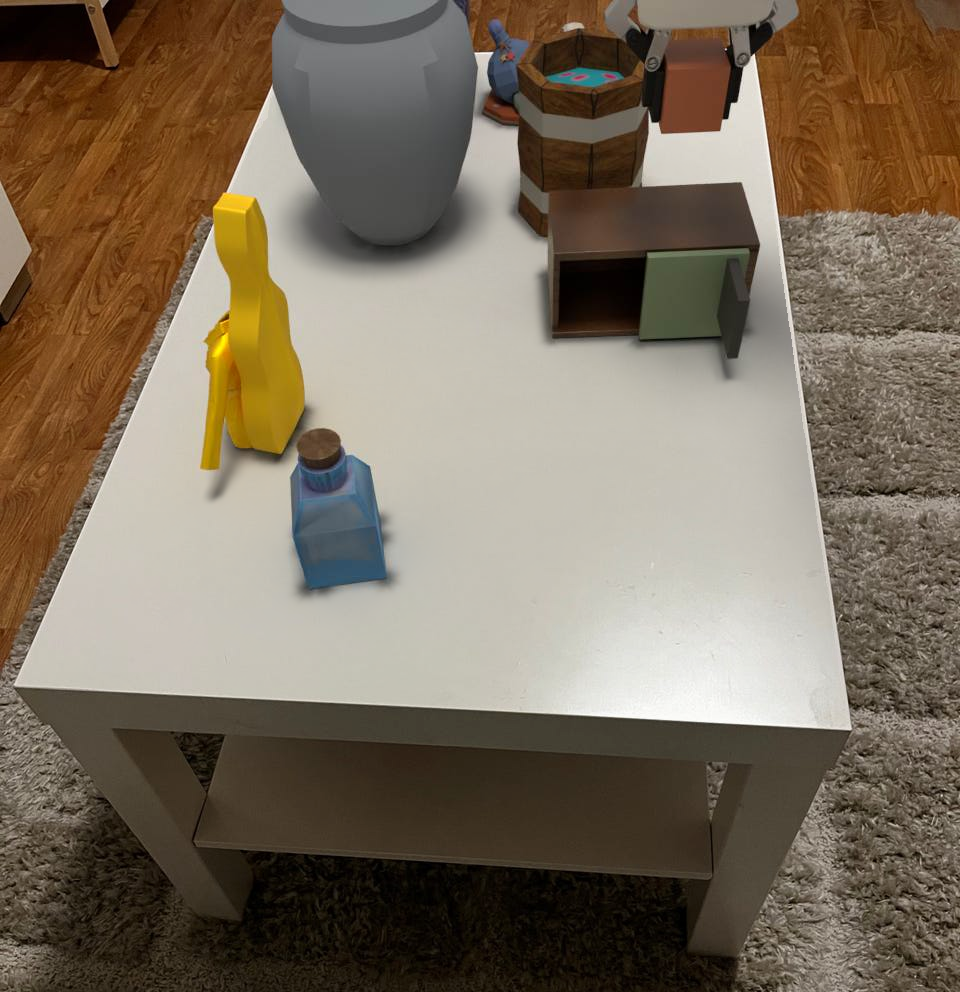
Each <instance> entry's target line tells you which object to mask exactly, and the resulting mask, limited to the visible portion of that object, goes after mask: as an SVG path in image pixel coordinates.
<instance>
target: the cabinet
mask: <svg viewBox="0 0 960 992" xmlns="http://www.w3.org/2000/svg"><path fill="white" fill-rule="evenodd" d="M741 248H748V249H749V252H750V255H749V260H748V265H747V270H746V275H745V283H746V287H747V290H748V294H749V297H750V295H751V291H752V286H753V281H754V276H755V271H756V267H757V262H758V257H759V253H760V248H761V242H760V238H759V235H758V232H757V229H756V225H755V222H754V219H753V216H752V212H751V208H750V205H749V202H748V199H747V195H746V191H745V189H744V186H743V182H742V181H738V182H737V181H736V182H734V181H733V182H715V183H713V182H712V183H692V184H690V183H689V184H670V185H669V184H668V185H649V186H642V187H625V188H604V189H582V190H561V191H549V192H548V237H547V259H546V260H547V261H546V262H547V263H546V264H547V268H546V269H547V271H546V278H547V288H548V290H547V291H548V301H549V303H548V304H549V315H550V325H551V337H552V339H561V338H562V339H566V338H567V339H568V338H585V337H586V338H588V337H612V336H635V335H637V336H639V325H640V316H641V306H642V297H643V288H644V279H645V269H646V260H647V253H651V252H674V251H696V250H719V249H741Z"/></svg>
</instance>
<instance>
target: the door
mask: <svg viewBox="0 0 960 992" xmlns="http://www.w3.org/2000/svg"><path fill="white" fill-rule="evenodd" d="M749 255H750V252H749V249H748V248H741V249H719V250H696V251H674V252H651V253H647V260H646V269H645V279H644V288H643V297H642V306H641V316H640V325H639V335H638V340H659V339H661V340H662V339H681V338H684V339H685V338H704V337H707V338H708V337H721V341H722V345H723V348H724V352H725V357H726V359H727V360H730V359H732V360H733V359H739V356H740V355H739V354H740V350H741V346H742V340H743V336H744V332H745V327H746V324H747V323H746V322H747V318H748V313H749V309H750V305H751V299H750V296H749V294H748V290H747V287H746V283H745V275H746V270H747V265H748V260H749Z"/></svg>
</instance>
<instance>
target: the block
mask: <svg viewBox="0 0 960 992" xmlns="http://www.w3.org/2000/svg"><path fill="white" fill-rule="evenodd" d="M663 65H664V69H665V83H664V92H663V102H662V111H661V120H660V121H658V123H657V124H658V127H659V131H660V134H661V135H670V134H672V135H674V134H693V133H694V134H695V133H714V132H716V133H717V132H721V130H722V124H723V120H722V119H723V112H724V106H725V100H726V94H727V88H728V81H729V75H730V69H731V66H730V63H729V60H728V57H727V53H726V48H725V45H724V41H723V38H722V37H706V38H687V39H669V42H668V45H667V47H666V50H665V53H664V56H663Z"/></svg>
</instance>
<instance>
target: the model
mask: <svg viewBox="0 0 960 992" xmlns="http://www.w3.org/2000/svg"><path fill="white" fill-rule="evenodd" d="M487 31H488V33H489V35H490V37H491V39H492V40H493V42H494V44H495V47H496V48H495V49H494V50H493V52H492V54H491V56H490V57H489V59H488V63H487V69H486V75H487V80H488V85H489V87H490V91H489V94H488V96H487V98H486V101H485V102H484V104H483V107H482V109H481V114H482V115H483V116H486V117H488V118H489V119H492V120H494V121H495V122H497V123H500V124H501V125H506V126H518V127H519V115H520V114H519V85H518V77H517V70H516V64H517V63H518V61H519V60H520V58H521V57H522V55H523V54H524V52H525V51H526V49H527V48H528V46H529V45H530V43H531V42H529V41H527V40H522V39H520V38H519V39H518V38H510V36H509V34H508V33H507V32H506V29H505V28H504V24H503V22H502V21H501V20H500V19H498V18H493V19H492V20H490V21H489V22H488V25H487Z"/></svg>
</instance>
